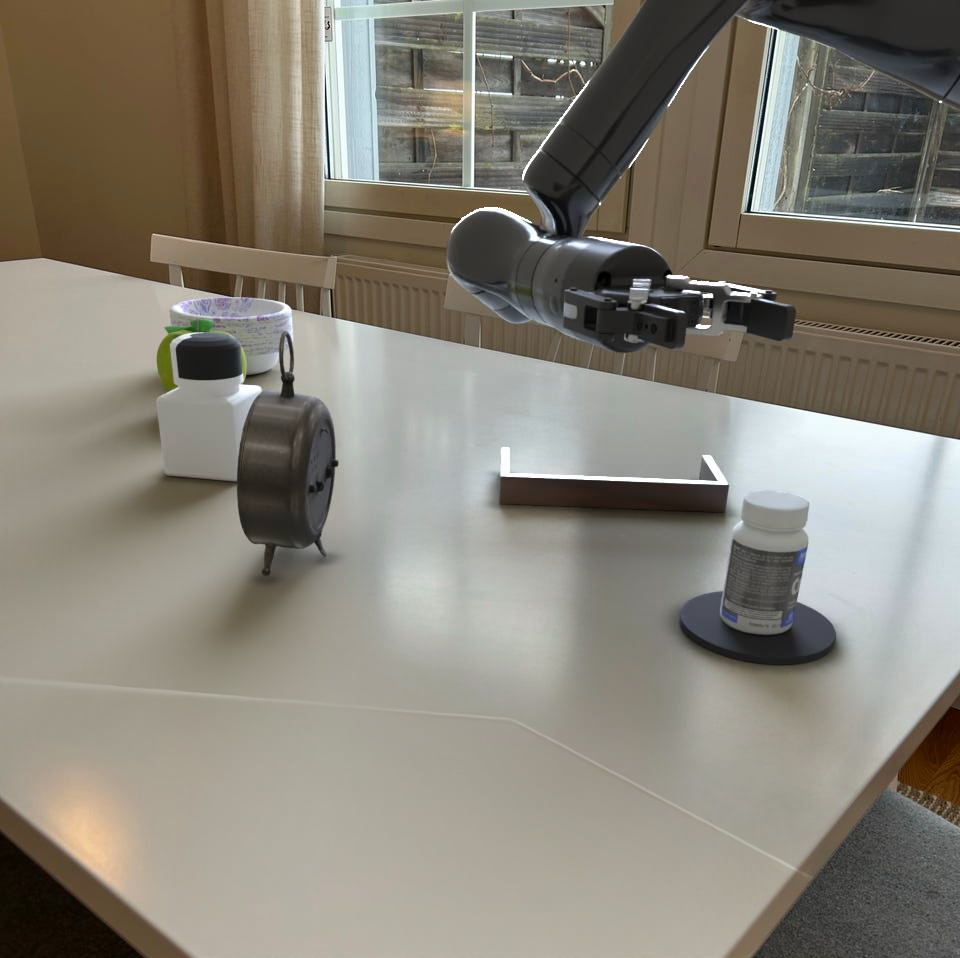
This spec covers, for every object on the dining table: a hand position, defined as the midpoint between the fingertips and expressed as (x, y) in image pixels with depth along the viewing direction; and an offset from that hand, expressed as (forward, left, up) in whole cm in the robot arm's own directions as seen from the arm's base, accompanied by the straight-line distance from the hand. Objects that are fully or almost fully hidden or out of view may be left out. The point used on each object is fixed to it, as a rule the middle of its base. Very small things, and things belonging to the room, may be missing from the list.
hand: (737, 328), depth 62 cm
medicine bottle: (+10, -46, -18) cm, 51 cm away
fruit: (0, -64, -18) cm, 67 cm away
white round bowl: (-15, -81, -18) cm, 84 cm away
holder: (-13, -18, -18) cm, 29 cm away
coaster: (+2, +6, -18) cm, 19 cm away
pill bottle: (+2, +6, -18) cm, 19 cm away
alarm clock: (+17, -24, -18) cm, 35 cm away
